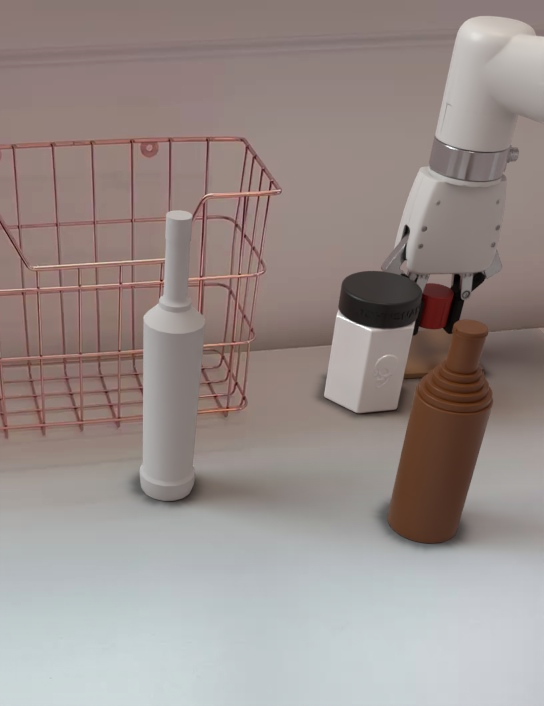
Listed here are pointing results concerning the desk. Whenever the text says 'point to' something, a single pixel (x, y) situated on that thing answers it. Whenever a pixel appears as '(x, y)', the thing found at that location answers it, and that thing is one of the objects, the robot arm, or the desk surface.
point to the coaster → (427, 352)
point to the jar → (372, 340)
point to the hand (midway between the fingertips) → (427, 327)
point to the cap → (436, 306)
